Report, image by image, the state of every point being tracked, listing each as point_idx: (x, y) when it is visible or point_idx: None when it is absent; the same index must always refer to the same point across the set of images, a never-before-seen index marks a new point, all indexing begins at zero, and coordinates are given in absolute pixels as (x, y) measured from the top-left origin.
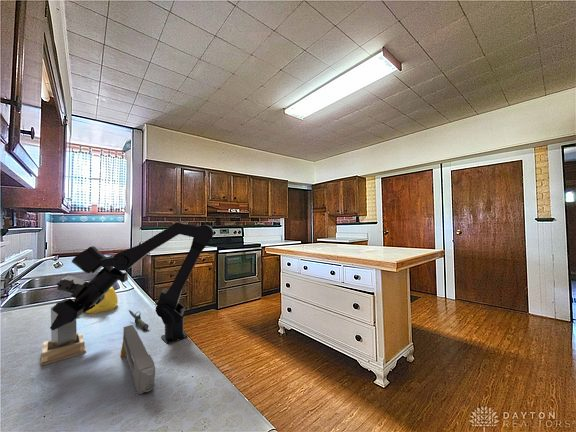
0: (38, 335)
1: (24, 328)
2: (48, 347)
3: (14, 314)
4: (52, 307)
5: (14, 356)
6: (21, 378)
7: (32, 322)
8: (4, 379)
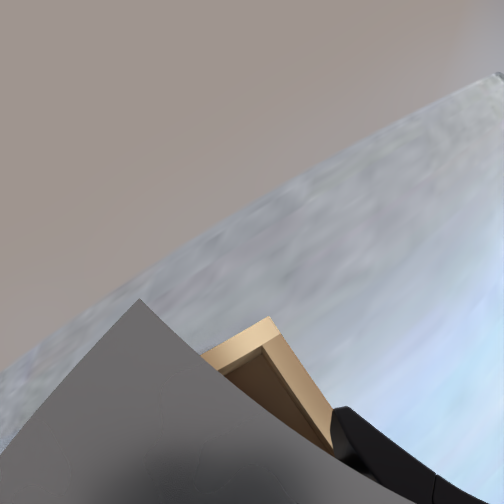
0: (437, 190)
1: (462, 128)
2: (262, 353)
3: (496, 87)
4: (100, 352)
5: (259, 227)
6: (51, 380)
7: (491, 129)
8: (65, 324)
